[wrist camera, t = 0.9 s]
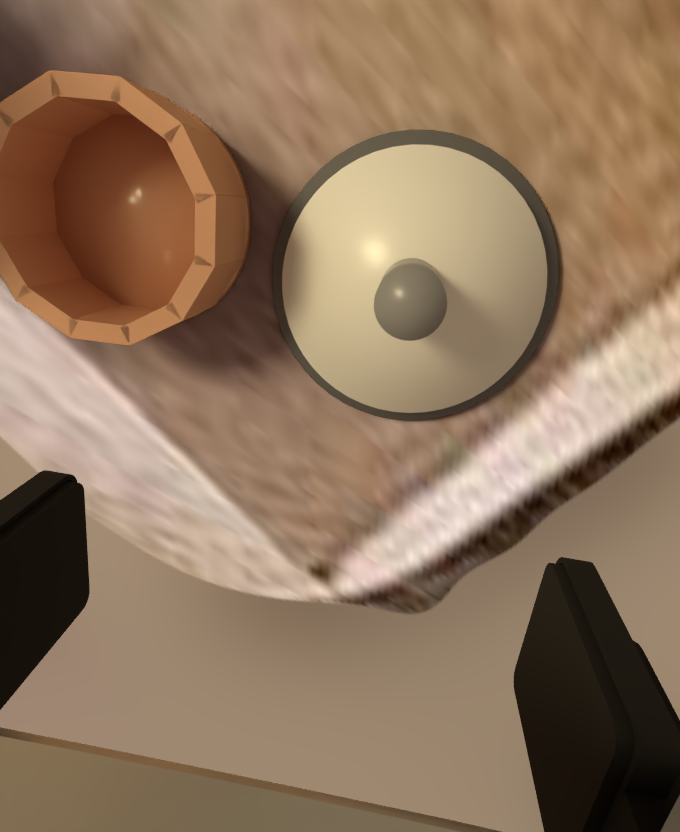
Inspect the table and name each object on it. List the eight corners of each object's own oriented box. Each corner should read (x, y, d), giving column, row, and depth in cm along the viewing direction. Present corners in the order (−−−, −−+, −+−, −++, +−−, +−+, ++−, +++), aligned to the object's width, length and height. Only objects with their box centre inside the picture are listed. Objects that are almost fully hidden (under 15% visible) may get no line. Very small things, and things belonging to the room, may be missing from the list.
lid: (293, 133, 27) (263, 113, 21) (572, 160, 26) (615, 145, 20) (278, 391, 31) (249, 429, 26) (513, 422, 30) (535, 468, 25)
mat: (282, 117, 27) (280, 116, 26) (589, 145, 26) (591, 144, 25) (267, 399, 32) (265, 401, 31) (522, 433, 31) (523, 436, 30)
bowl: (40, 88, 28) (-45, 60, 23) (256, 108, 27) (219, 83, 22) (57, 309, 32) (-11, 328, 26) (247, 333, 31) (214, 357, 26)
